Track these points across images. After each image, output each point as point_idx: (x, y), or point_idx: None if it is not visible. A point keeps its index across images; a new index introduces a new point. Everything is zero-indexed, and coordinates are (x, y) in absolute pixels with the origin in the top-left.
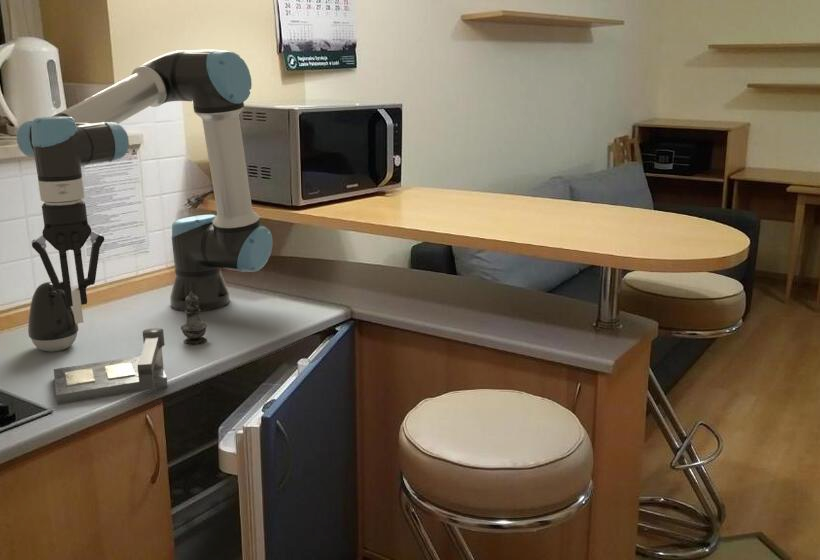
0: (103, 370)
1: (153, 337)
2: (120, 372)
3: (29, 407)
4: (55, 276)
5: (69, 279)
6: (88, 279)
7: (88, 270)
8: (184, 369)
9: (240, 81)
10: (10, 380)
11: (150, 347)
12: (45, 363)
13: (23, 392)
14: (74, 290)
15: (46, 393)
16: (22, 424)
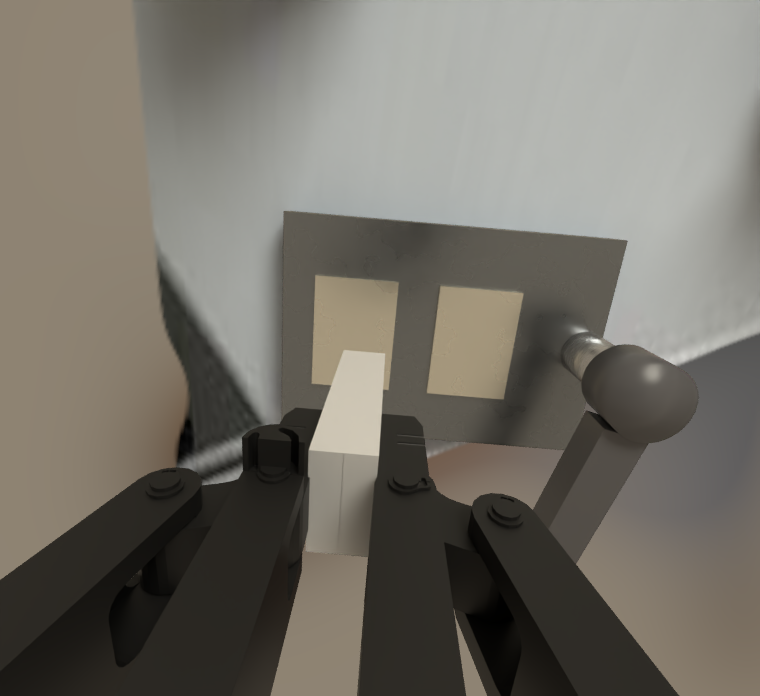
0: (429, 309)
1: (627, 444)
2: (469, 365)
3: (221, 393)
4: (116, 693)
5: (279, 645)
6: (465, 627)
7: (519, 609)
8: (655, 340)
9: None
10: (158, 151)
11: (574, 534)
12: (268, 22)
13: (203, 280)
14: (333, 540)
15: (264, 321)
16: (209, 477)
